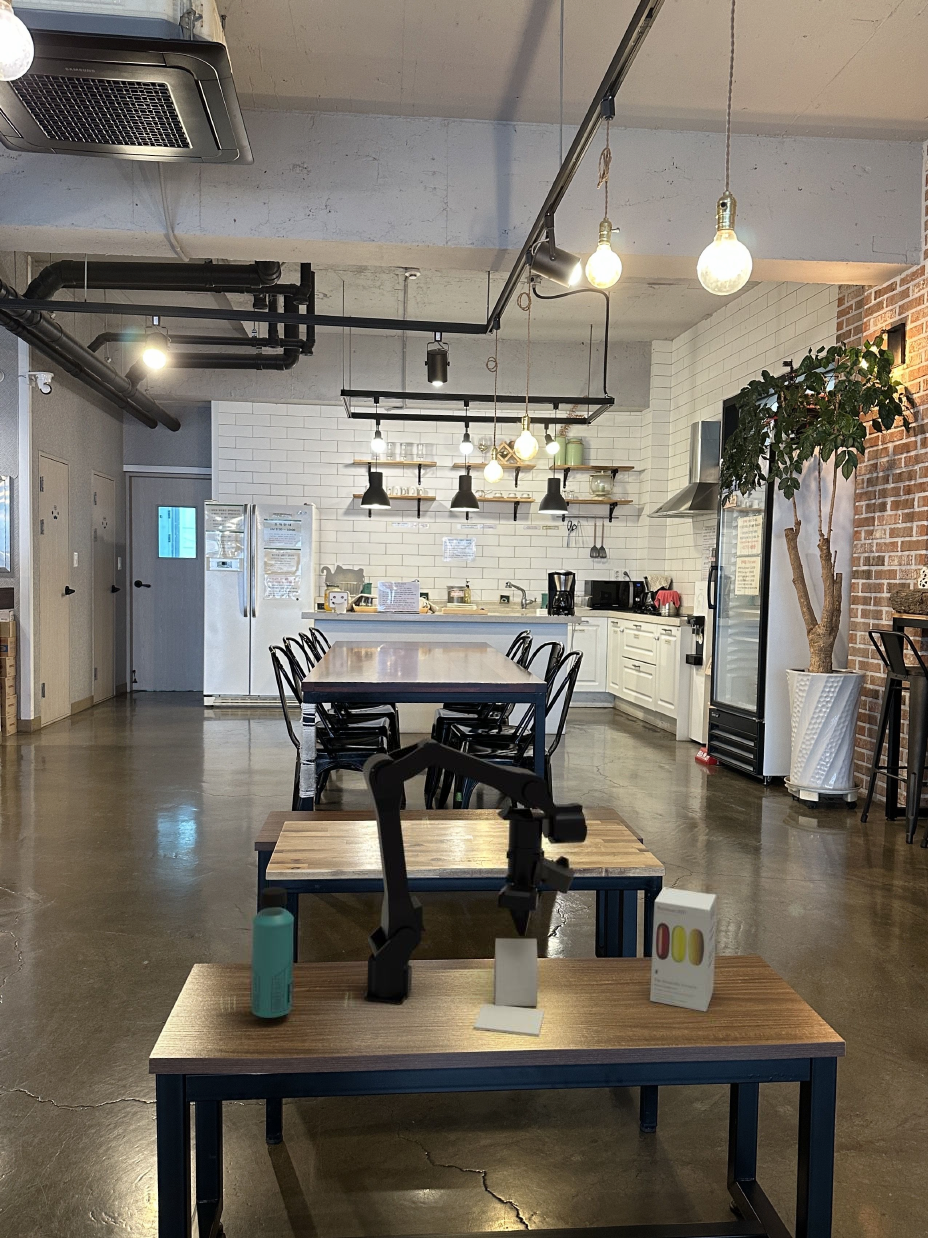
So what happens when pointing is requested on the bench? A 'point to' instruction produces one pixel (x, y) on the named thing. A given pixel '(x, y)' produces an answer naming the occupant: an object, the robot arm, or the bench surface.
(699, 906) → the supplement box
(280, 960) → the beverage bottle
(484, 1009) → the mat
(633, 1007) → the bench surface
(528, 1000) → the white printed box
